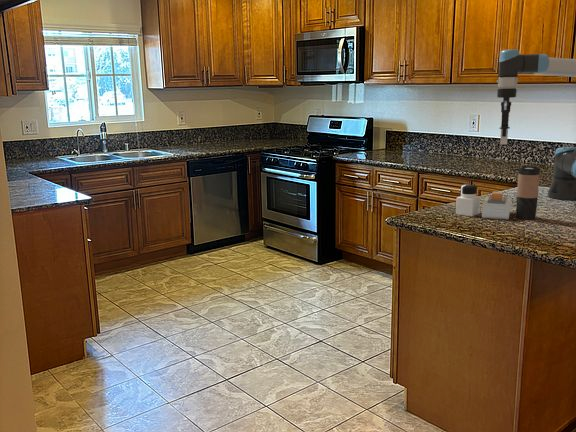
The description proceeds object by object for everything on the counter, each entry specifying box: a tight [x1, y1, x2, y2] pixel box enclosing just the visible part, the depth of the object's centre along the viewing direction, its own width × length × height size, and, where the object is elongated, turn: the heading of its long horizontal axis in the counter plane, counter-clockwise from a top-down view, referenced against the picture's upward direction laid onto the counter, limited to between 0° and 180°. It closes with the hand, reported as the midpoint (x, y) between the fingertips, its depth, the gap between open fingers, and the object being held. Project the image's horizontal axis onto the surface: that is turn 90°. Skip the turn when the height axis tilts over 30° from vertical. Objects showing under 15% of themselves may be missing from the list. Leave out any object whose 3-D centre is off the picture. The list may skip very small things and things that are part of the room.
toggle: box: [491, 191, 504, 200], centre depth 225 cm, size 4×3×4 cm
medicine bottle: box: [455, 184, 481, 217], centre depth 231 cm, size 7×7×12 cm
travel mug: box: [515, 165, 540, 221], centre depth 221 cm, size 8×8×20 cm
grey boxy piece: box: [481, 194, 512, 220], centre depth 229 cm, size 10×14×7 cm
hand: (503, 144), depth 243 cm, fingers closed
